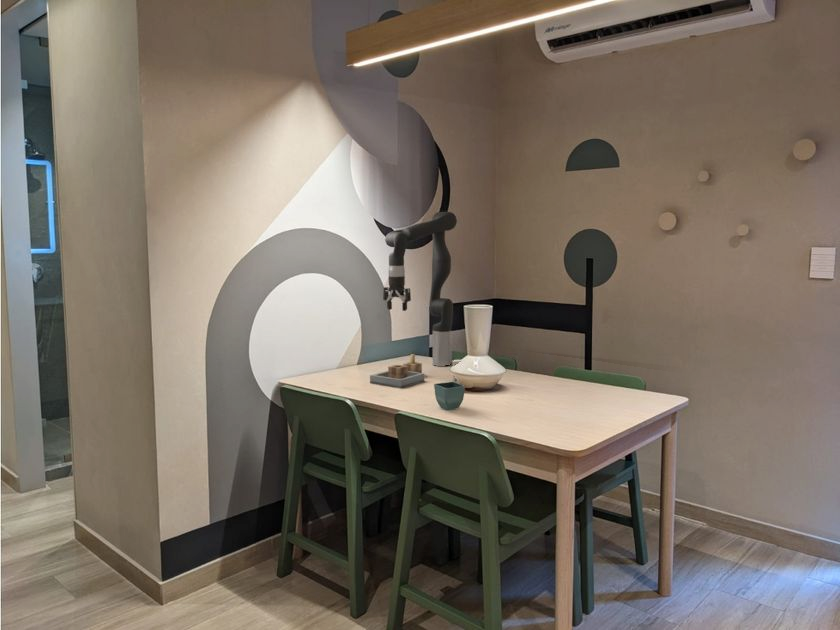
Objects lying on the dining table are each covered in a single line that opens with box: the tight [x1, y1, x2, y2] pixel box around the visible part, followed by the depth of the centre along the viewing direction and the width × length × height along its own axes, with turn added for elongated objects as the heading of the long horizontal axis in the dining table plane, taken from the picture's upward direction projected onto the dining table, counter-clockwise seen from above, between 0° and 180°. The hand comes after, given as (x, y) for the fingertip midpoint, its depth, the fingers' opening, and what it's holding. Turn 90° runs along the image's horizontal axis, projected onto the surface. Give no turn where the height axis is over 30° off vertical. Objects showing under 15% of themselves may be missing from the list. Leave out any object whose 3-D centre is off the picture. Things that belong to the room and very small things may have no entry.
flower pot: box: [433, 381, 466, 411], centre depth 255 cm, size 9×9×9 cm
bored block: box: [387, 364, 408, 379], centre depth 300 cm, size 6×6×6 cm
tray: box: [369, 370, 425, 389], centre depth 300 cm, size 17×17×4 cm
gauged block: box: [402, 353, 423, 373], centre depth 312 cm, size 6×6×10 cm
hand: (397, 310), depth 318 cm, fingers open, 8 cm apart
